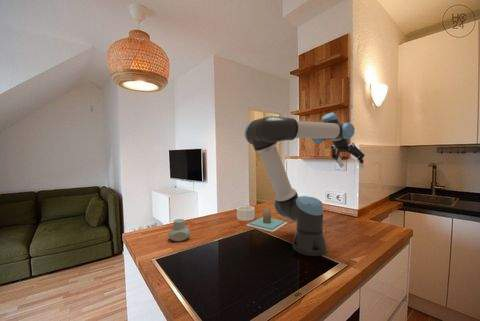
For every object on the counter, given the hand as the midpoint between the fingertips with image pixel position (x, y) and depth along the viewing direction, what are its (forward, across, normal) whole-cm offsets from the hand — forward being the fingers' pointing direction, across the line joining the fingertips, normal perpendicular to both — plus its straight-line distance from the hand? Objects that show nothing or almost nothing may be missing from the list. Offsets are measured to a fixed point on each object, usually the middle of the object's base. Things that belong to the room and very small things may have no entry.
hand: (352, 166), depth 131 cm
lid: (+2, +26, +57) cm, 63 cm away
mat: (+3, +26, +57) cm, 63 cm away
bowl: (-1, +43, +62) cm, 75 cm away
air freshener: (-27, +31, +101) cm, 109 cm away
